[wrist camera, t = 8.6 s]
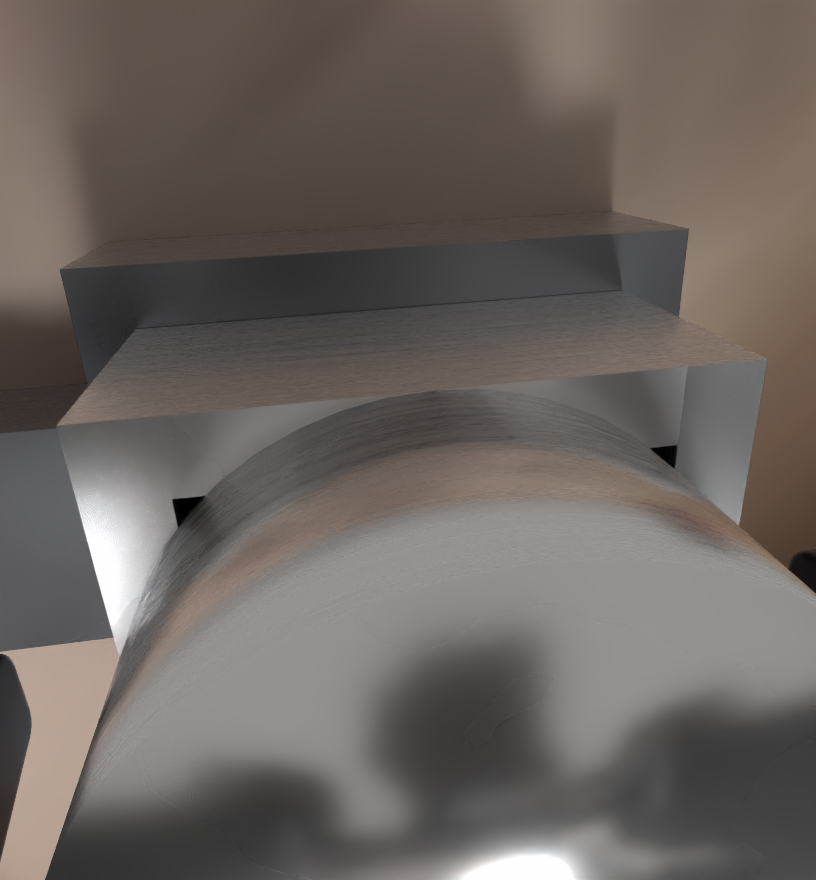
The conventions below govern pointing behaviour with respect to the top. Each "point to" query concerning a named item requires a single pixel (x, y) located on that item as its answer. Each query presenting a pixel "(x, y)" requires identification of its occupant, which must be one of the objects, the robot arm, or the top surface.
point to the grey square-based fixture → (439, 603)
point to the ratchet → (263, 297)
